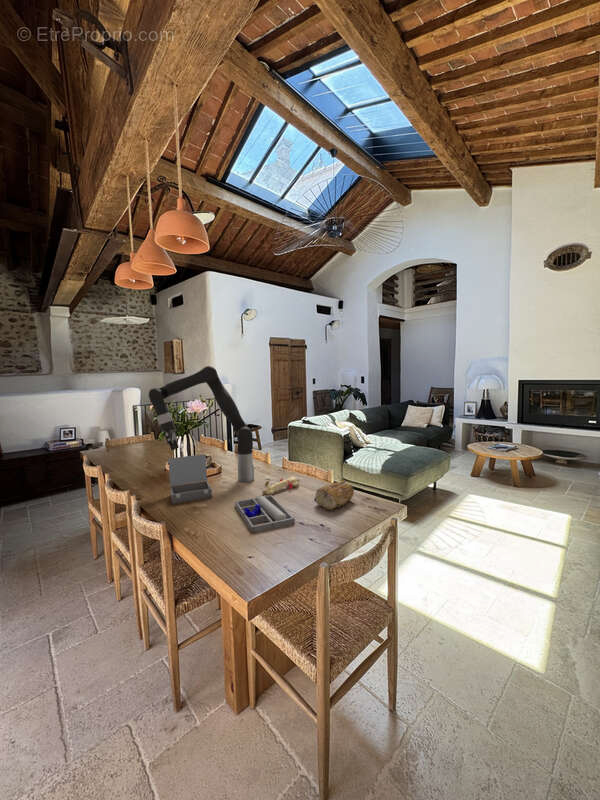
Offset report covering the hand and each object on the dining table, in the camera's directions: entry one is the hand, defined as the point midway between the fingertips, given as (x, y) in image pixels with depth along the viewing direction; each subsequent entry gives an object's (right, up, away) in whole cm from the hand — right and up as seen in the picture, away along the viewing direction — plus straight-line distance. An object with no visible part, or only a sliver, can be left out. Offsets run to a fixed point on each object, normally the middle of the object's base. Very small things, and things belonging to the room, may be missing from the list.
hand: (175, 449), depth 195 cm
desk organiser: (+53, -27, -32) cm, 67 cm away
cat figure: (+61, -24, +1) cm, 65 cm away
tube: (+57, -27, -32) cm, 71 cm away
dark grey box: (+11, -25, -8) cm, 28 cm away
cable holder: (+49, -27, -34) cm, 65 cm away
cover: (+8, -11, -1) cm, 14 cm away
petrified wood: (+89, -25, -20) cm, 95 cm away
